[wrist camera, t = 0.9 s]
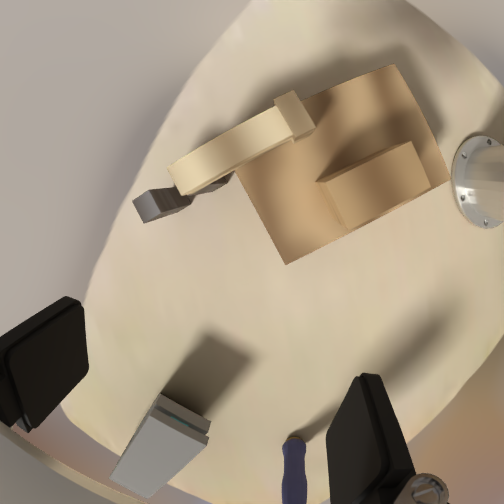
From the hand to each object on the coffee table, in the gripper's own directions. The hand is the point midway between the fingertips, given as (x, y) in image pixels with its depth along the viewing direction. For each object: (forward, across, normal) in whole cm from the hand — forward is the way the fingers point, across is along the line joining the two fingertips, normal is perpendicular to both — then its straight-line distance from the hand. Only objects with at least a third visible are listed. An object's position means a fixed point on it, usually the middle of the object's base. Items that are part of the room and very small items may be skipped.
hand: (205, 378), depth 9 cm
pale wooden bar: (+18, +3, -8) cm, 20 cm away
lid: (+19, -6, -10) cm, 22 cm away
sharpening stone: (+27, +9, +35) cm, 45 cm away
